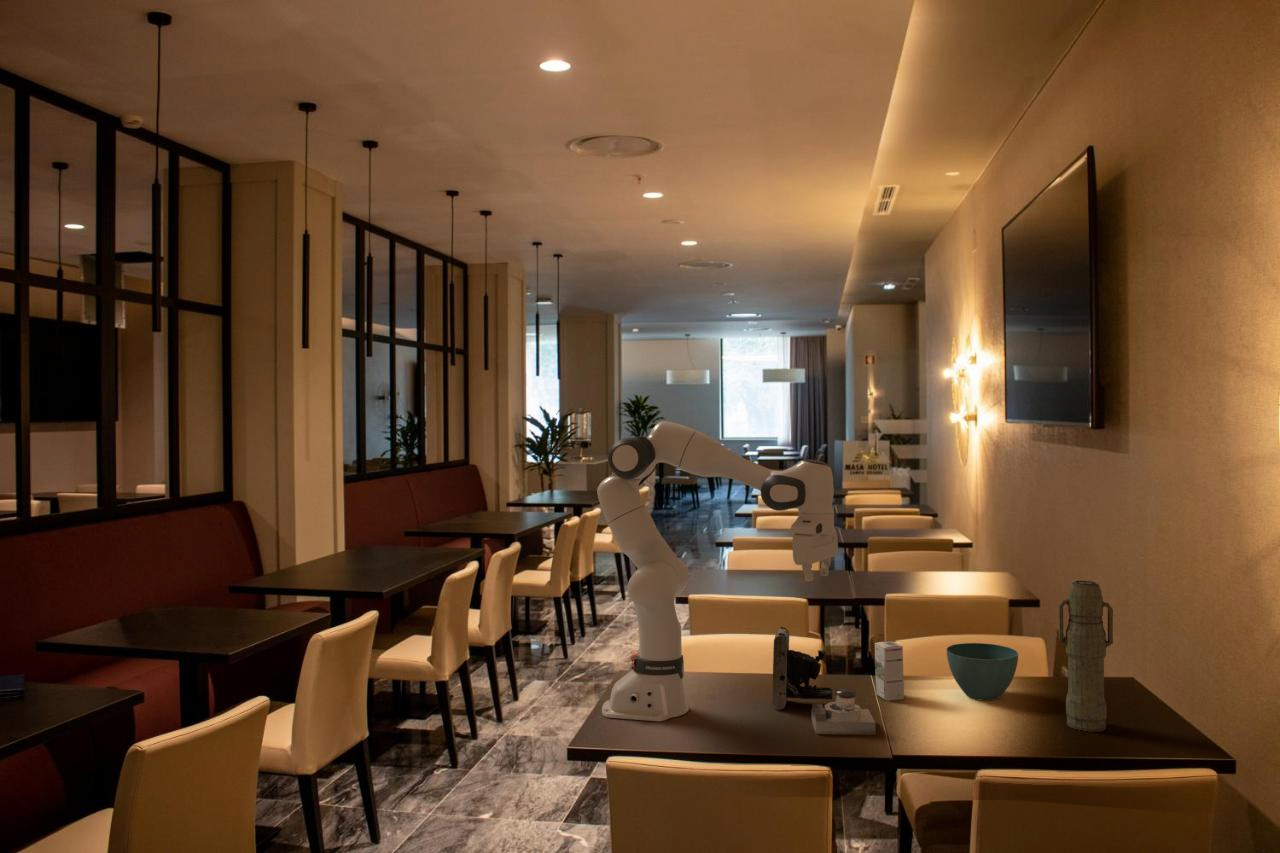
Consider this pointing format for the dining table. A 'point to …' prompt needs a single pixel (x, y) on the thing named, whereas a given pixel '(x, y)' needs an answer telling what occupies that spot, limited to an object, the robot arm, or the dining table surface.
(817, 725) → the mount
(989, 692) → the teal bowl
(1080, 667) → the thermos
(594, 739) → the dining table surface
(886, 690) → the syrup box
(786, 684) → the vintage camera
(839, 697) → the knob
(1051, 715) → the dining table surface
